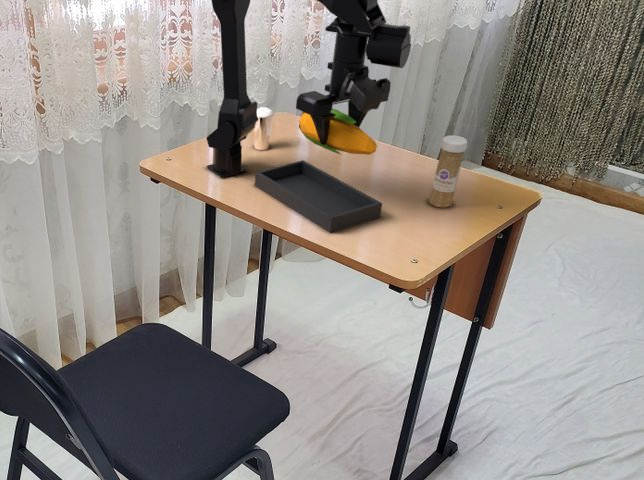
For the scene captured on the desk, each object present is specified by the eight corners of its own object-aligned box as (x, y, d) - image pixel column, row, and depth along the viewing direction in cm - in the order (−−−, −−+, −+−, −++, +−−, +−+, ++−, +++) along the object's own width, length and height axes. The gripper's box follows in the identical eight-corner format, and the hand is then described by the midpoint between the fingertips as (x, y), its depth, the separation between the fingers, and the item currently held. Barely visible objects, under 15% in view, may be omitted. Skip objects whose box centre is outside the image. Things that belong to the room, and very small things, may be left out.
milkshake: (246, 144, 174) (249, 102, 168) (268, 143, 174) (272, 101, 168) (250, 151, 170) (252, 108, 164) (273, 150, 171) (276, 107, 165)
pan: (254, 185, 155) (255, 172, 154) (301, 173, 160) (303, 160, 159) (329, 232, 138) (331, 218, 137) (380, 217, 143) (382, 203, 142)
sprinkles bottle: (427, 206, 147) (441, 141, 139) (430, 197, 151) (444, 133, 143) (451, 210, 146) (466, 144, 138) (453, 200, 149) (468, 136, 141)
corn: (318, 93, 149) (394, 122, 136) (315, 129, 154) (388, 161, 141) (291, 103, 146) (366, 133, 133) (289, 139, 151) (361, 172, 138)
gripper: (339, 78, 126) (327, 165, 135) (417, 62, 134) (401, 145, 143) (298, 62, 133) (290, 145, 143) (374, 48, 141) (361, 127, 151)
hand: (337, 141), depth 145 cm, fingers closed on corn, 7 cm apart
